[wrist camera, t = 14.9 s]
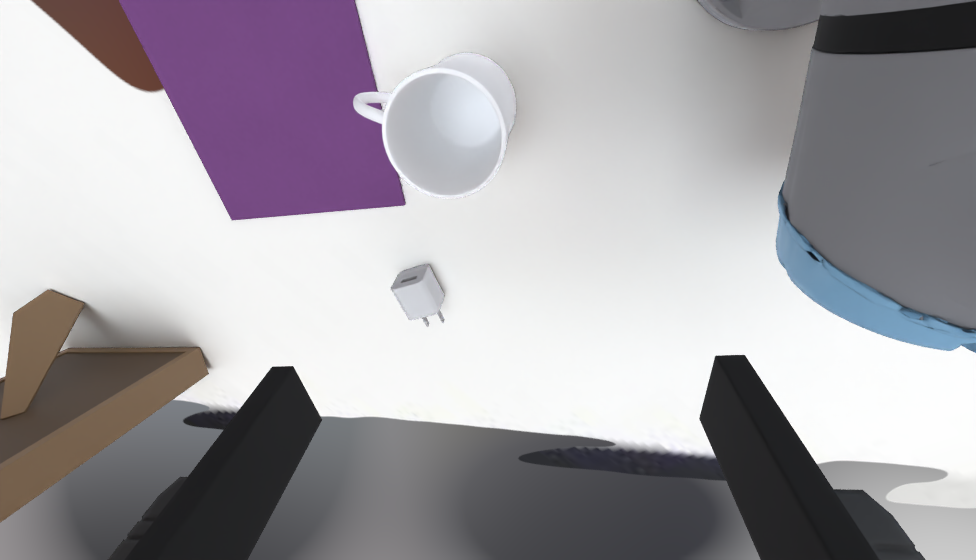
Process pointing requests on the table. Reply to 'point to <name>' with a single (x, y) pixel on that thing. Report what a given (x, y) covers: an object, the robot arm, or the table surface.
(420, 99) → the mug
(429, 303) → the usb wall charger
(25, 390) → the photo frame
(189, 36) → the cloth
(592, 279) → the table surface
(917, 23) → the robot arm
